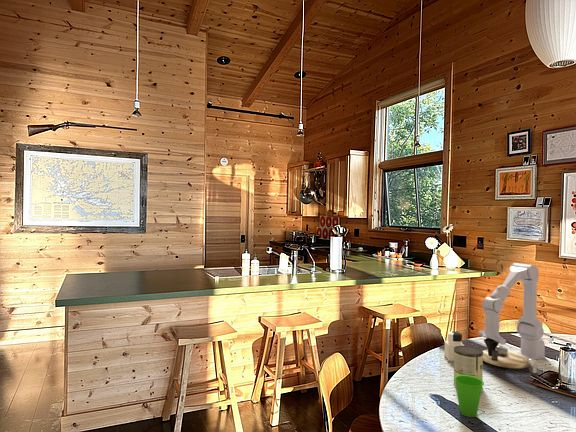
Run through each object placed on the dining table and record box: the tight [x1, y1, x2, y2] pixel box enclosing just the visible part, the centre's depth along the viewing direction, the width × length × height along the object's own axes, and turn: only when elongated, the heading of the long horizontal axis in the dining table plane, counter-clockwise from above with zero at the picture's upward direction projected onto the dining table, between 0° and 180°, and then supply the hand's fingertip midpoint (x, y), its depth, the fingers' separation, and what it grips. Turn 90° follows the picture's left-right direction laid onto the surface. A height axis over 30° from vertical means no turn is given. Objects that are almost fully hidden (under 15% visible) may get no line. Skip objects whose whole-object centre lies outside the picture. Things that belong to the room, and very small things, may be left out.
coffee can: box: [453, 345, 484, 390], centre depth 157 cm, size 10×10×14 cm
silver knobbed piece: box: [522, 359, 538, 374], centre depth 174 cm, size 3×7×6 cm, turn 13°
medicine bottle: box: [443, 331, 465, 362], centre depth 187 cm, size 7×7×12 cm
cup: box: [453, 375, 485, 418], centre depth 135 cm, size 9×9×11 cm
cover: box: [495, 344, 509, 356], centre depth 187 cm, size 7×7×3 cm
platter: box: [482, 349, 529, 369], centre depth 183 cm, size 20×20×6 cm
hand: (491, 355), depth 180 cm, fingers closed
